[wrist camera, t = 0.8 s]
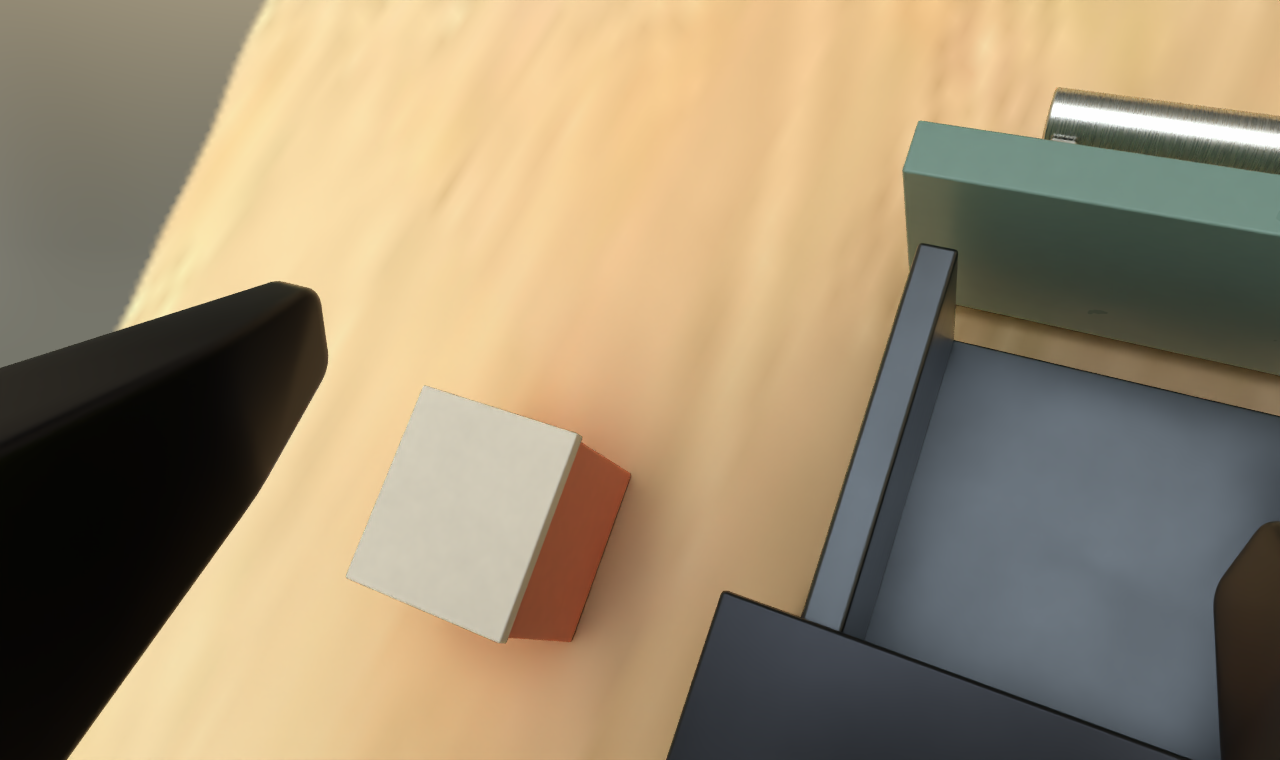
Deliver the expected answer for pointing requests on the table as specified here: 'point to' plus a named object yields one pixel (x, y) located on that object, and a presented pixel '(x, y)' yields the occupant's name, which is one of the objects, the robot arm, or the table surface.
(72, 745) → the robot arm
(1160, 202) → the drawer
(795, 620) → the cabinet
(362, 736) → the table surface
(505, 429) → the cream-topped orange box
